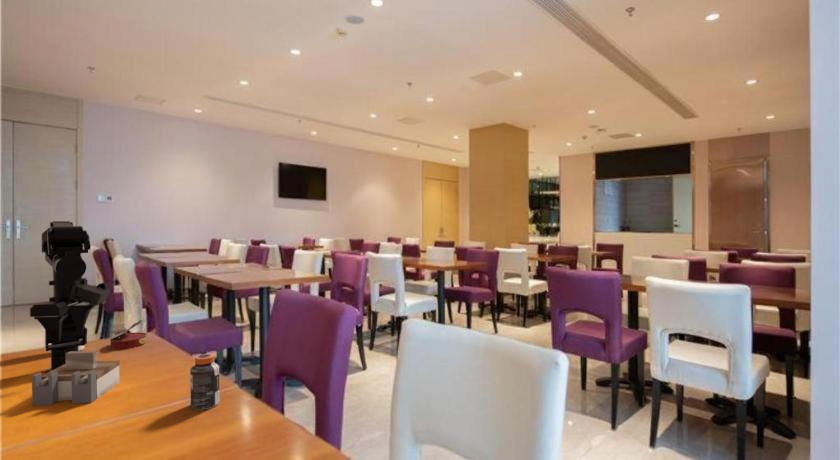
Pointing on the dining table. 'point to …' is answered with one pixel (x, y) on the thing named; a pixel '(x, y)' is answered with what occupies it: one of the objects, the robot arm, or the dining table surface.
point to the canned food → (128, 339)
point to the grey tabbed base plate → (81, 367)
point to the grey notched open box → (72, 388)
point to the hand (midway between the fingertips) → (69, 336)
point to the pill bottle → (204, 382)
